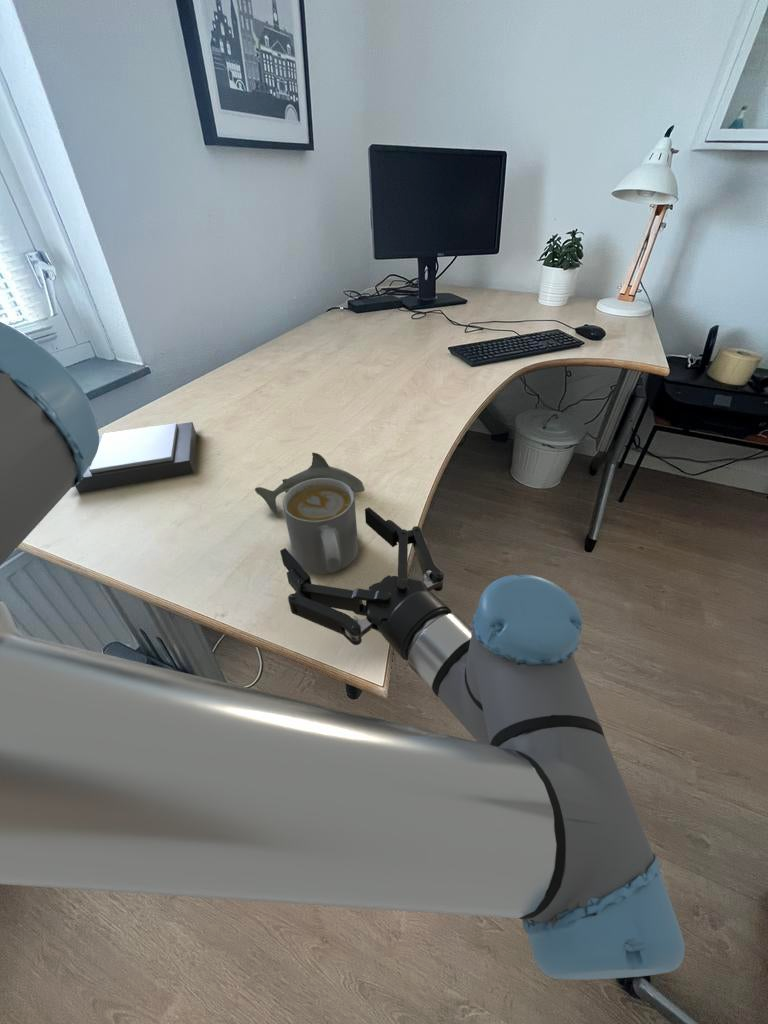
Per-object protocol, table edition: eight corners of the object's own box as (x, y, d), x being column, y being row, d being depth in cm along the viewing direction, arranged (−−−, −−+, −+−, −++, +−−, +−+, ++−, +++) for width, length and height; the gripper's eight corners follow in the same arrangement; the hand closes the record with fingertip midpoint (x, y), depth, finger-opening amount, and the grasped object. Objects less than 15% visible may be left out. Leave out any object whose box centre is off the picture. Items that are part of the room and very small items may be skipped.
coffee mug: (295, 530, 70) (285, 480, 64) (356, 526, 71) (352, 475, 64) (289, 595, 60) (276, 543, 53) (361, 589, 60) (357, 536, 54)
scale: (78, 493, 79) (68, 475, 77) (96, 449, 91) (88, 433, 88) (193, 473, 83) (187, 456, 81) (196, 434, 95) (191, 418, 93)
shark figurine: (358, 523, 71) (356, 487, 66) (261, 516, 73) (251, 480, 68) (372, 474, 82) (370, 439, 77) (287, 468, 84) (280, 434, 79)
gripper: (337, 724, 44) (250, 595, 57) (500, 602, 56) (397, 518, 69) (330, 686, 39) (237, 555, 52) (510, 562, 51) (397, 480, 64)
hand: (327, 534), depth 61 cm, fingers open, 13 cm apart
